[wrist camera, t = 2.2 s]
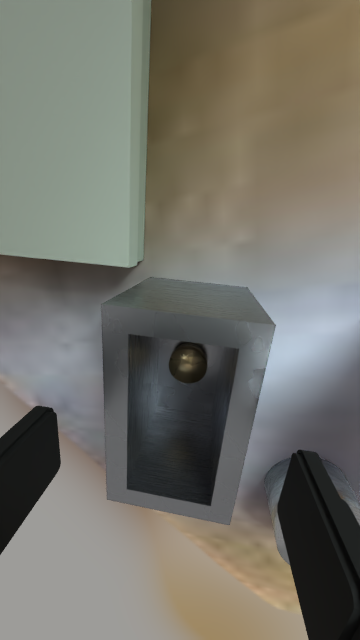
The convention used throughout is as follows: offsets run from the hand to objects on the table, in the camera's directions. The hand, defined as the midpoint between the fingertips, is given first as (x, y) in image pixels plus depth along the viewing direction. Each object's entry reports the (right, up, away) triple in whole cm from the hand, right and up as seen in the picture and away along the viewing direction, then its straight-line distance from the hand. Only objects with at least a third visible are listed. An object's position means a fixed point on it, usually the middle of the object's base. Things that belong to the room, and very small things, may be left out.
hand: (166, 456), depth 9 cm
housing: (+1, +3, +7) cm, 8 cm away
